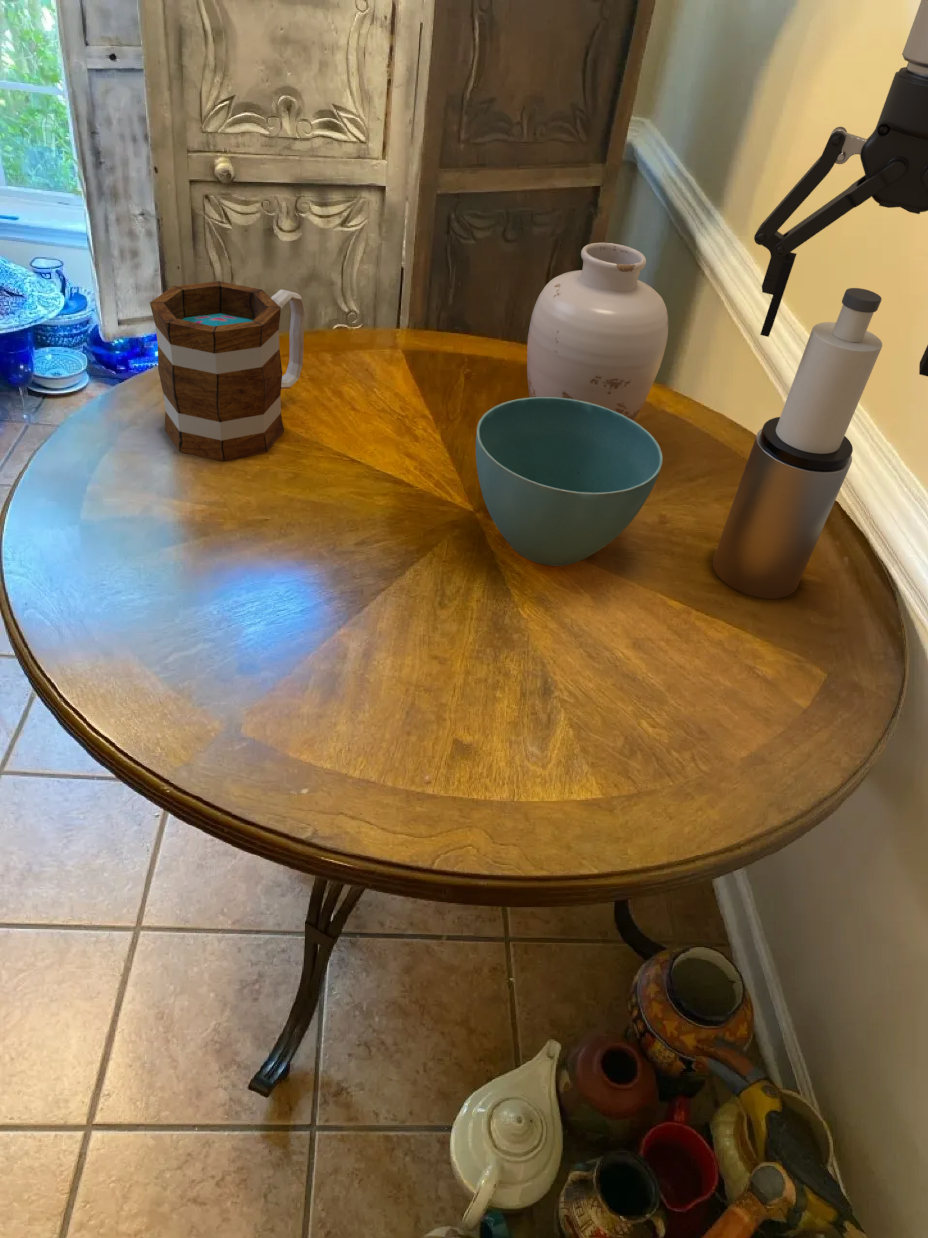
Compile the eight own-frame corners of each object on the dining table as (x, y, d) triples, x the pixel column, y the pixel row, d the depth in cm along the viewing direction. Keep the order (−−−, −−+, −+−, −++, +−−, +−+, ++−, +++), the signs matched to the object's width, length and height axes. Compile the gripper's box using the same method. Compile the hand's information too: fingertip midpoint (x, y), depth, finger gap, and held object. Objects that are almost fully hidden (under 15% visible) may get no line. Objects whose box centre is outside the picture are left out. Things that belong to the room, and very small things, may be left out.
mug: (221, 474, 100) (211, 344, 90) (139, 429, 105) (121, 301, 95) (342, 414, 113) (345, 294, 103) (263, 377, 118) (259, 259, 108)
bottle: (852, 444, 86) (914, 301, 77) (815, 460, 83) (874, 313, 74) (800, 416, 89) (853, 276, 80) (762, 430, 86) (813, 286, 77)
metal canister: (815, 581, 96) (875, 448, 86) (762, 609, 92) (819, 472, 81) (748, 537, 101) (797, 406, 91) (695, 562, 97) (740, 427, 86)
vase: (550, 480, 106) (588, 285, 91) (492, 415, 117) (517, 230, 102) (663, 462, 112) (715, 276, 97) (597, 402, 122) (636, 225, 108)
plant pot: (595, 490, 105) (618, 392, 98) (663, 588, 93) (695, 485, 85) (444, 500, 100) (455, 398, 93) (493, 606, 88) (510, 498, 80)
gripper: (1129, 97, 66) (991, 370, 80) (786, 37, 72) (711, 302, 86) (1147, 114, 61) (995, 404, 75) (774, 48, 67) (696, 329, 80)
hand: (843, 350), depth 80 cm, fingers open, 13 cm apart
